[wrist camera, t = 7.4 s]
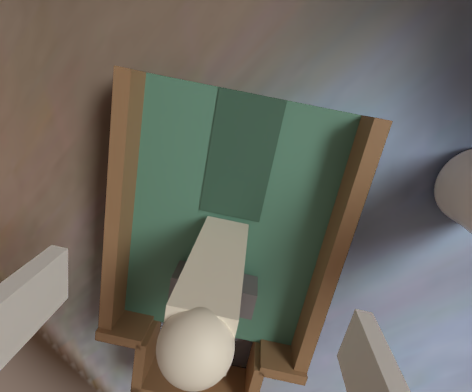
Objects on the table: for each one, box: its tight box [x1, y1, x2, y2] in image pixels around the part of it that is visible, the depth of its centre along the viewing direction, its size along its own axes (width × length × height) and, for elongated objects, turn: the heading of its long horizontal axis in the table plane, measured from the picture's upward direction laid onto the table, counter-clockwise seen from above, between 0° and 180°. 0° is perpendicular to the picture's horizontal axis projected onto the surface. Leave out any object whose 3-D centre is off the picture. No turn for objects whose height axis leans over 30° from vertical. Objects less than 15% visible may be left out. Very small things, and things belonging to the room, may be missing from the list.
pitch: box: [95, 66, 392, 392], centre depth 23 cm, size 24×16×4 cm, turn 169°
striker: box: [156, 216, 258, 392], centre depth 17 cm, size 6×6×12 cm
